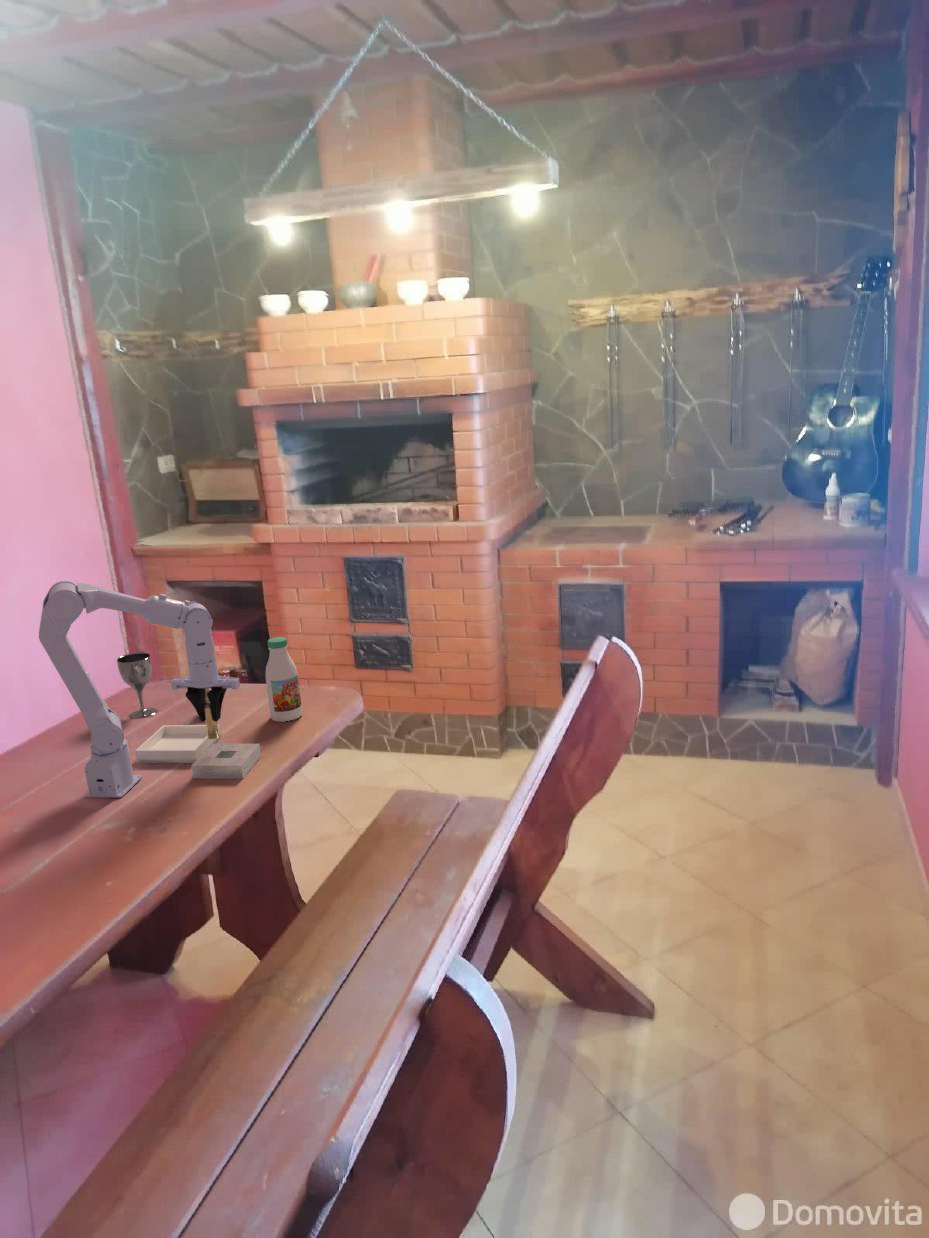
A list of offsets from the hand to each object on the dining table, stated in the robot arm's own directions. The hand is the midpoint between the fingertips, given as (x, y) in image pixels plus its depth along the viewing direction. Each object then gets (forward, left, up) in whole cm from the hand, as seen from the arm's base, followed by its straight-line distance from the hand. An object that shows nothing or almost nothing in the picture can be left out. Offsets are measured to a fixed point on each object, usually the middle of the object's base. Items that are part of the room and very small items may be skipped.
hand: (210, 719), depth 194 cm
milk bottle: (+26, -7, -11) cm, 29 cm away
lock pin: (0, 0, -4) cm, 4 cm away
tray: (+7, +12, -10) cm, 17 cm away
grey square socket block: (-2, -3, -10) cm, 11 cm away
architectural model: (+29, +14, -11) cm, 34 cm away
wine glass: (+29, +32, -11) cm, 44 cm away
